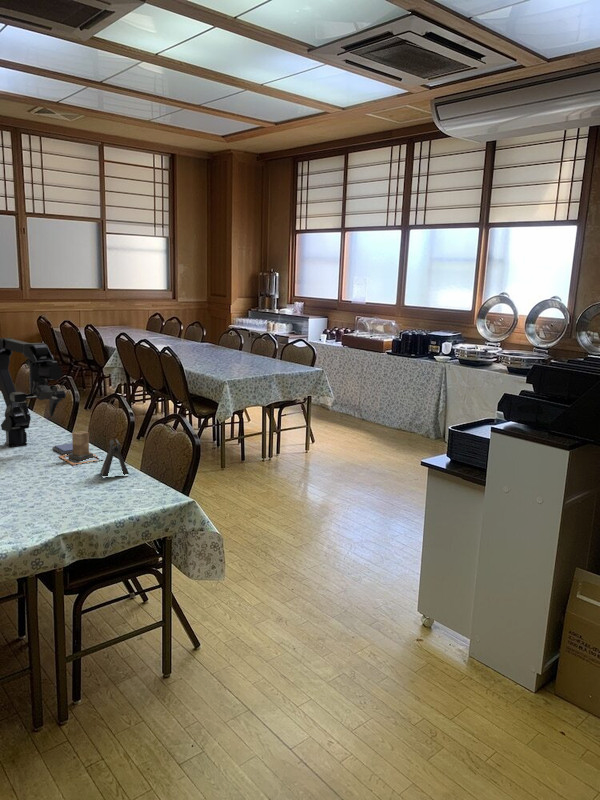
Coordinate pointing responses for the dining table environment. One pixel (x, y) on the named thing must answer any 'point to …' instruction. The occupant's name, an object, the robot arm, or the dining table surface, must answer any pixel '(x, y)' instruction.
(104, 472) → the dark brown a-frame stand
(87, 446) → the stamp
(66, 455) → the marked frame
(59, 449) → the ink pad
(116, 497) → the dining table surface
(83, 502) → the dining table surface
